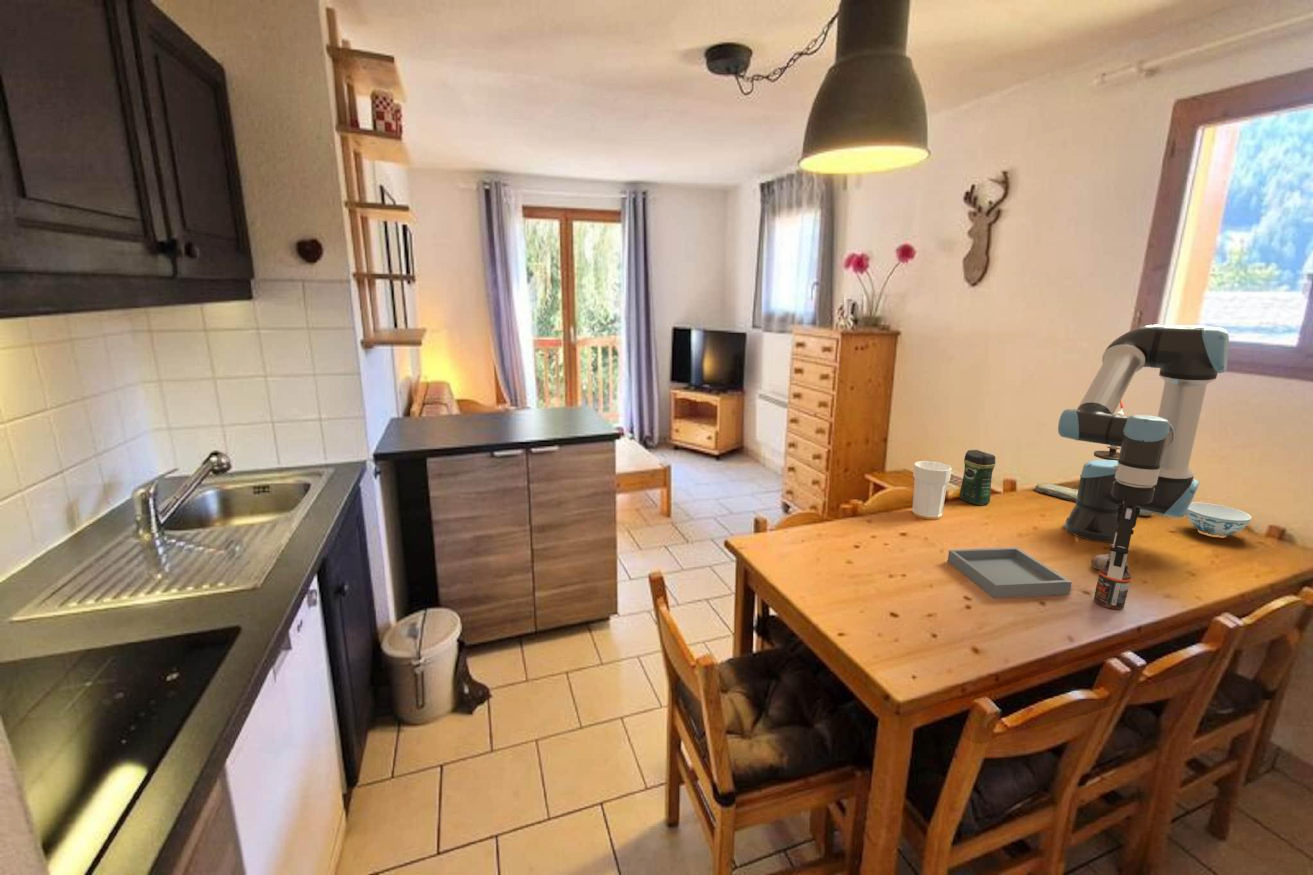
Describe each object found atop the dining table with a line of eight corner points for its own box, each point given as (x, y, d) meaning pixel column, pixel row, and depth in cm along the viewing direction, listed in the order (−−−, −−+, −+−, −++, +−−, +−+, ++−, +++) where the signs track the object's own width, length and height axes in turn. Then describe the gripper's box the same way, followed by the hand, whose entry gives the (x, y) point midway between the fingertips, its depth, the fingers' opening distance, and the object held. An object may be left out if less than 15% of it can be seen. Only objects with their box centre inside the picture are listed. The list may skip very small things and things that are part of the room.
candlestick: (1079, 487, 223) (1097, 398, 215) (1102, 485, 226) (1119, 396, 217) (1107, 497, 213) (1126, 403, 204) (1130, 494, 216) (1150, 402, 207)
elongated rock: (1040, 490, 225) (1030, 497, 219) (1041, 477, 223) (1031, 484, 218) (1156, 512, 197) (1148, 520, 192) (1158, 497, 196) (1150, 505, 190)
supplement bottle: (1087, 598, 143) (1095, 556, 140) (1109, 597, 144) (1118, 555, 141) (1107, 611, 137) (1116, 567, 135) (1130, 609, 138) (1140, 566, 135)
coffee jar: (993, 504, 206) (1001, 454, 201) (975, 506, 203) (982, 456, 199) (972, 495, 215) (979, 447, 210) (954, 497, 212) (961, 448, 208)
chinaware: (1259, 544, 173) (1266, 520, 172) (1208, 544, 174) (1214, 520, 172) (1213, 524, 188) (1219, 502, 186) (1166, 524, 188) (1172, 502, 186)
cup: (951, 521, 191) (958, 470, 187) (917, 521, 191) (923, 470, 187) (935, 508, 202) (942, 460, 198) (903, 508, 202) (908, 460, 198)
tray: (1014, 558, 164) (1016, 547, 163) (1069, 594, 145) (1071, 581, 144) (947, 561, 162) (949, 549, 162) (993, 597, 143) (995, 585, 142)
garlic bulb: (1126, 580, 152) (1132, 552, 150) (1091, 573, 156) (1097, 546, 154) (1121, 568, 158) (1127, 541, 156) (1088, 562, 162) (1094, 536, 160)
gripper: (1116, 468, 145) (1100, 546, 150) (1110, 492, 126) (1092, 581, 131) (1155, 474, 140) (1137, 555, 145) (1155, 500, 121) (1134, 592, 126)
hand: (1115, 568), depth 138 cm, fingers open, 13 cm apart
